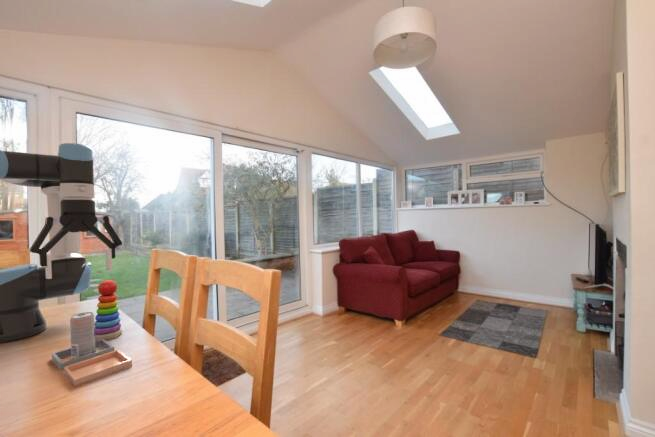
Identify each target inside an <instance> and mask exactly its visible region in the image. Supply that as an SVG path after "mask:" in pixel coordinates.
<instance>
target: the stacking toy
mask: <svg viewBox="0 0 655 437" xmlns="http://www.w3.org/2000/svg"><path fill="white" fill-rule="evenodd" d="M117 289H118V286H117V283H116V282H115V281H114V280H110V279H107V280H104V281H102V282H100V283H99V285H98V287H97V291H98V293H99V294H100V296H98V303H97V305H96V306H97V309H96V316H94V323H95V341H96V340H100V339H104V340H105V341H107V340H111V339H114V338H115V339H116V338H117V337H119V336H121V335H122V333H123V330H122V328H121V327H122V324H121V323H120V322H121V318H120V312H119V309H120V308H119V306H118V301H117V298H118V296H117V294H116V291H117Z"/></svg>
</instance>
